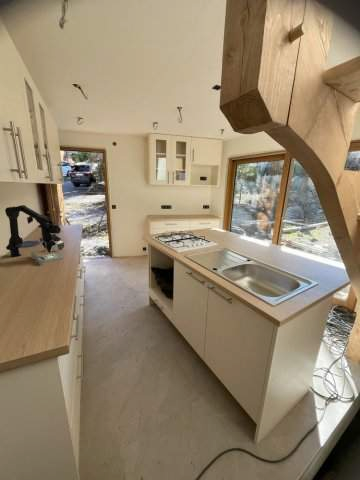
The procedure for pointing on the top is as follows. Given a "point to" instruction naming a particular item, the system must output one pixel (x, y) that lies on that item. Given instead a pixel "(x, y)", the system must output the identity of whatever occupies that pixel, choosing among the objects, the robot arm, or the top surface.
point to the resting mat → (49, 257)
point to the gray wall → (36, 258)
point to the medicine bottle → (58, 245)
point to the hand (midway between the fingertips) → (48, 251)
